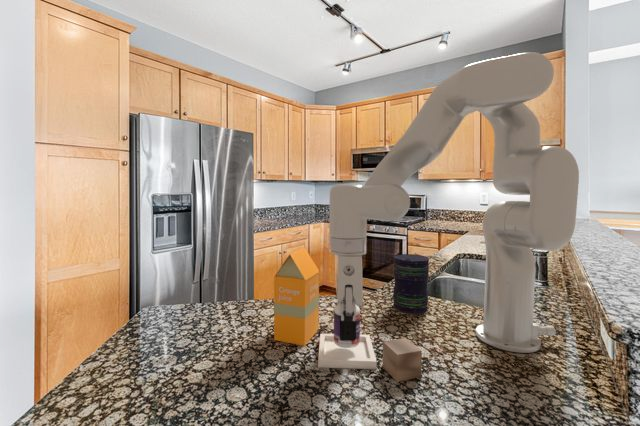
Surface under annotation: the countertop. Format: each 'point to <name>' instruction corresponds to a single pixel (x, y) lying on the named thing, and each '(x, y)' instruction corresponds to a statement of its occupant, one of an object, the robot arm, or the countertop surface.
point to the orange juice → (296, 299)
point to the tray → (346, 354)
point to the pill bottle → (337, 327)
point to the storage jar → (411, 283)
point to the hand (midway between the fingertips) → (347, 331)
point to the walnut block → (402, 359)
